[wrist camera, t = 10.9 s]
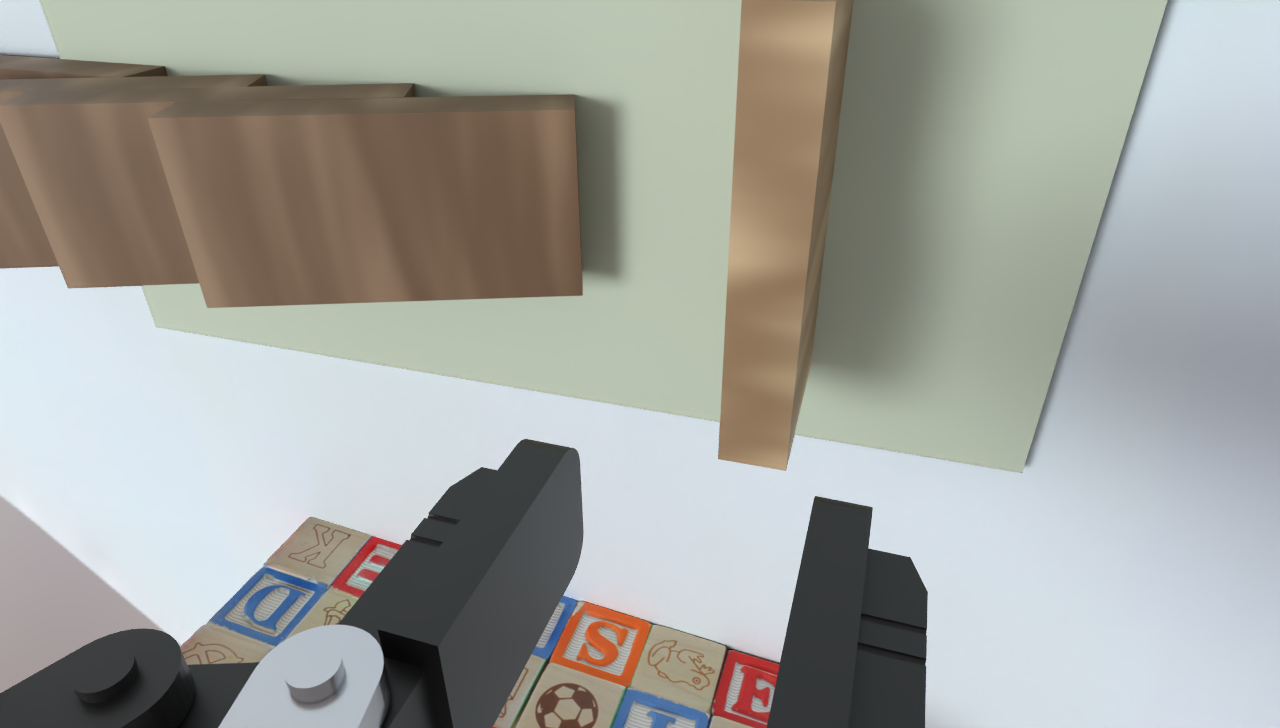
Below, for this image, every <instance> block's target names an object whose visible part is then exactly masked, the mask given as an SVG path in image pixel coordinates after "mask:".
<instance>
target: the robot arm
mask: <svg viewBox="0 0 1280 728" xmlns="http://www.w3.org/2000/svg"><path fill="white" fill-rule="evenodd" d="M871 519H872V507H868V506H863V505H858V504H853V503H848V502H843V501H838V500H832V499H827V498H822V497H817V496H815V498H814V502H813V507H812V512H811V517H810V521H809V526H808V531H807V536H806V541H805V546H804V550H803V555H802V560H801V565H800V570H799V574H798V579H797V584H796V589H795V594H794V598H793V603H792V608H791V613H790V618H789V622H788V627H787V632H786V637H785V642H784V646H783V651H782V656H781V661H780V666H779V670H778V675H777V680H776V685H775V690H774V694H773V699H772V704H771V709H770V714H769V718H768V723H767V728H925V692H926V666H925V662H926V643H927V636H926V630H927V595H928V592H927V590H926V588H925V586H924V584H923V582H922V580H921V578H920V576H919V574H918V572H917V570H916V568H915V566H914V564H913V562H912V560H911V558H910V557H906V556H901V555H896V554H891V553H887V552H882V551H877V550H872V549H868V546H869V537H870V528H871ZM582 543H583V515H582V495H581V475H580V459H579V454H578V452H577V450H576V449H574V448H570V447H564V446H559V445H554V444H549V443H544V442H539V441H534V440H529V439H524V440H522V441H520V442H519V443H518V444H517V446H516V447H515V448H514V449H513V451H512V452H511V453H510V455H509V456H508V457H507V459H506V460H505V461H504V463H503V464H502V465H501V467H500V468H499V469H498V471H497V470H492V469H488V468H483V467H481V468H480V469H478V470H476V471H475V472H473V473H472V474H470V475H468V476H467V477H465V478H464V479H462V480H460V481H459V482H457V483H456V484H454V485H452V486H451V487H450V488H449V489H448V490H447V491H446V492H445V494H444V495H443V496H442V497H441V499H440V500H439V501H438V502H437V503H436V505H435V506H434V507H433V508H432V510H431V511H430V512H429V516H428V518H427V519H426V518H424V519H423V521H422V522H421V523H420V524H419V526H418V527H417V528H416V529H415V530H414V532H413V533H412V534H411V539H410V540H406V541H405V543H404V544H403V545H402V546H401V548H400V549H399V550H398V551H397V552H396V554H395V555H394V556H393V557H392V559H391V560H390V561H389V562H388V564H387V565H386V566H385V567H384V568H383V570H382V571H381V572H380V573H379V575H378V576H377V577H376V578H375V579H374V581H373V582H372V583H371V584H370V586H369V587H368V588H367V589H366V590H365V592H364V593H363V594H362V595H361V597H360V598H359V599H358V600H357V601H356V603H355V604H354V605H353V606H352V608H351V609H350V610H349V611H348V613H347V614H346V615H345V616H344V617H343V619H342V620H341V621H340V622H339V623H338V624H337V625H326V626H320V627H315V628H311V629H308V630H306V631H303V632H300V633H298V634H296V635H294V636H292V637H290V638H288V639H287V640H285V641H283V642H282V643H280V644H279V645H277V646H276V647H275V648H274V649H273V650H271V651H270V652H269V653H268V654H267V655H266V656H265V657H264V658H263V659H262V660H261V661H260V662H253V663H224V664H193V665H187V663H186V660H185V658H184V656H183V653H182V651H181V649H180V646H179V645H178V643H177V642H176V640H175V639H174V638H173V637H171V636H170V635H169V634H166V633H164V632H162V631H158V630H154V629H131V630H127V631H121V632H117V633H114V634H110V635H107V636H105V637H102V638H100V639H97V640H95V641H93V642H91V643H89V644H87V645H85V646H83V647H81V648H80V649H78V650H76V651H74V652H73V653H71V654H69V655H67V656H65V657H64V658H62V659H60V660H58V661H57V662H55V663H53V664H51V665H50V666H48V667H46V668H44V669H43V670H41V671H39V672H37V673H35V674H34V675H32V676H30V677H28V678H27V679H25V680H23V681H21V682H20V683H18V684H16V685H15V686H12V687H11V688H9V689H8V690H5V691H4V692H2V693H0V728H492V727H493V726H494V724H495V722H496V720H497V718H498V716H499V714H500V712H501V711H502V709H503V707H504V705H505V703H506V701H507V699H508V697H509V696H510V694H511V692H512V690H513V688H514V686H515V684H516V682H517V681H518V679H519V677H520V675H521V673H522V671H523V669H524V667H525V665H526V664H527V662H528V660H529V658H530V656H531V654H532V652H533V650H534V649H535V647H536V645H537V643H538V641H539V639H540V637H541V635H542V634H543V632H544V630H545V628H546V626H547V624H548V622H549V620H550V619H551V617H552V615H553V613H554V611H555V609H556V607H557V605H558V604H559V602H560V600H561V598H562V596H563V594H564V592H565V590H566V589H567V587H568V585H569V583H570V581H571V579H572V577H573V575H574V573H575V570H576V568H577V565H578V562H579V558H580V554H581V549H582Z"/></svg>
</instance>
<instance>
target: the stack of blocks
mask: <svg viewBox="0 0 1280 728" xmlns="http://www.w3.org/2000/svg"><path fill="white" fill-rule="evenodd" d="M401 546H402V545H399V544H396V543H393V542H390V541H386V540H383V539H380V538H377V537H374V536H370V535H368V534H365V533H362V532H359V531H356V530H353V529H349V528H346V527H343V526H340V525H337V524H333V523H330V522H327V521H324V520H320V519H317V518H314V517H309V518H308V519H307V520H306V521H305V522H304V523H303V524H302V525H301V526H300V527H299V528H298V529H297V530H296V531H295V532H294V533H293V534H292V535H291V537H290V538H289V539H288V540H287V541H286V542H285V543H284V544H282V545H281V547H280V548H279V549H278V550H277V551H276V552H275V553H274V554H273V555H272V556H271V557H270V558H269V559H268V560H267V562H266V563H264V565H263V568H261V569H260V570H259V571H258V572H257V573H256V574H255V575H254V576H253V577H252V578H251V579H250V580H249V581H248V582H247V583H246V584H245V585H244V586H243V587H242V588H241V589H240V590H239V591H238V592H237V593H236V594H235V595H234V596H233V597H232V598H231V599H230V600H229V601H228V602H227V603H226V604H225V605H224V606H223V607H222V608H221V609H220V610H219V611H218V612H217V613H216V614H215V615H214V616H213V617H212V618H211V619H210V620H209V621H208V623H207V624H205V625H203V626H201V627H200V628H199V629H198V630H197V631H196V632H195V633H194V634H193V635H192V636H191V638H190V639H188V640H187V641H186V642H185V643H184V644H183V645H182V646H181V647H180V649H181V651H182V653H183V656H184V658H185V660H186V663H187V665H193V664H224V663H253V662H260V661H261V660H262V659H263V658H264V657H265V656H266V655H267V654H268V653H269V652H270V651H271V650H273V649H274V648H275V647H276V646H277V645H279V644H280V643H282V642H283V641H285V640H287V639H288V638H290V637H292V636H294V635H296V634H298V633H300V632H303V631H306V630H308V629H311V628H315V627H320V626H326V625H337V624H338V623H339V622H340V621H341V620H342V619H343V617H344V616H345V615H346V614H347V613H348V611H349V610H350V609H351V608H352V606H353V605H354V604H355V603H356V601H357V600H358V599H359V598H360V597H361V595H362V594H363V593H364V592H365V590H366V589H367V588H368V587H369V586H370V584H371V583H372V582H373V581H374V579H375V578H376V577H377V576H378V575H379V573H380V572H381V571H382V570H383V568H384V567H385V566H386V565H387V564H388V562H389V561H390V560H391V559H392V557H393V556H394V555H395V554H396V552H397V551H398V550H399V549H400V548H401ZM779 666H780V664H777V663H774V662H770V661H767V660H764V659H760V658H757V657H754V656H751V655H747V654H744V653H740V652H737V651H735V650H727V648H726V647H725V646H724V645H721V644H718V643H715V642H712V641H709V640H706V639H703V638H699V637H696V636H693V635H690V634H687V633H684V632H681V631H677V630H674V629H671V628H667V627H663V626H659V625H652V624H650V623H649V622H647V621H644V620H641V619H639V618H636V617H632V616H629V615H626V614H623V613H619V612H616V611H613V610H610V609H607V608H604V607H601V606H598V605H594V604H591V603H588V602H585V601H579V602H577V601H576V600H574V599H571V598H568V597H565V596H562V598H561V600H560V602H559V604H558V605H557V607H556V609H555V611H554V613H553V615H552V617H551V619H550V620H549V622H548V624H547V626H546V628H545V630H544V632H543V634H542V635H541V637H540V639H539V641H538V643H537V645H536V647H535V649H534V650H533V652H532V654H531V656H530V658H529V660H528V662H527V664H526V665H525V667H524V669H523V671H522V673H521V675H520V677H519V679H518V681H517V682H516V684H515V686H514V688H513V690H512V692H511V694H510V696H509V697H508V699H507V701H506V703H505V705H504V707H503V709H502V711H501V712H500V714H499V716H498V718H497V720H496V722H495V724H494V726H493V727H492V728H767V723H768V718H769V714H770V709H771V704H772V699H773V694H774V690H775V685H776V680H777V675H778V670H779Z"/></svg>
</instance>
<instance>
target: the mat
mask: <svg viewBox="0 0 1280 728" xmlns="http://www.w3.org/2000/svg"><path fill="white" fill-rule="evenodd" d="M1167 1H1168V0H854V1H853V9H852V18H851V26H850V35H849V43H848V52H847V61H846V69H845V78H844V86H843V95H842V103H841V112H840V120H839V129H838V138H837V146H836V155H835V163H834V172H833V180H832V189H831V198H830V206H829V215H828V223H827V232H826V240H825V249H824V257H823V266H822V275H821V283H820V292H819V300H818V309H817V317H816V326H815V335H814V343H813V352H812V360H811V366H810V370H809V375H808V379H807V383H806V387H805V392H804V396H803V400H802V404H801V409H800V413H799V417H798V421H797V426H796V430H795V434H794V435H799V436H805V437H811V438H817V439H823V440H829V441H835V442H841V443H847V444H853V445H859V446H865V447H871V448H876V449H882V450H888V451H894V452H900V453H906V454H912V455H918V456H924V457H930V458H936V459H942V460H948V461H954V462H960V463H965V464H971V465H977V466H983V467H989V468H995V469H1001V470H1007V471H1013V472H1019V473H1022V472H1023V469H1024V466H1025V462H1026V459H1027V456H1028V453H1029V449H1030V446H1031V443H1032V440H1033V436H1034V433H1035V430H1036V427H1037V423H1038V420H1039V417H1040V414H1041V410H1042V407H1043V404H1044V401H1045V397H1046V394H1047V391H1048V388H1049V384H1050V381H1051V378H1052V375H1053V371H1054V368H1055V365H1056V362H1057V358H1058V355H1059V352H1060V349H1061V345H1062V342H1063V339H1064V336H1065V332H1066V329H1067V326H1068V323H1069V319H1070V316H1071V313H1072V310H1073V307H1074V303H1075V300H1076V297H1077V294H1078V290H1079V287H1080V284H1081V281H1082V277H1083V274H1084V271H1085V268H1086V264H1087V261H1088V258H1089V255H1090V251H1091V248H1092V245H1093V242H1094V238H1095V235H1096V232H1097V229H1098V225H1099V222H1100V219H1101V216H1102V212H1103V209H1104V206H1105V203H1106V199H1107V196H1108V193H1109V190H1110V186H1111V183H1112V180H1113V177H1114V173H1115V170H1116V167H1117V164H1118V160H1119V157H1120V154H1121V151H1122V147H1123V144H1124V141H1125V138H1126V134H1127V131H1128V128H1129V125H1130V121H1131V118H1132V115H1133V112H1134V108H1135V105H1136V102H1137V99H1138V95H1139V92H1140V89H1141V86H1142V82H1143V79H1144V76H1145V73H1146V69H1147V66H1148V63H1149V60H1150V56H1151V53H1152V50H1153V47H1154V43H1155V40H1156V37H1157V34H1158V30H1159V27H1160V24H1161V21H1162V17H1163V14H1164V11H1165V8H1166V4H1167ZM40 3H41V6H42V9H43V12H44V14H45V17H46V20H47V23H48V26H49V28H50V31H51V34H52V37H53V40H54V42H55V45H56V48H57V51H58V54H59V56H60V59H68V60H83V61H98V62H112V63H127V64H142V65H156V66H165V68H166V72H167V75H168V76H202V75H251V74H265V76H266V81H267V85H268V86H301V85H349V84H397V83H414V88H415V95H416V97H460V96H514V95H567V94H575V112H576V136H577V159H578V182H579V206H580V229H581V252H582V279H583V296H556V297H526V298H496V299H466V300H436V301H406V302H376V303H346V304H316V305H286V306H256V307H226V308H207V306H206V303H205V300H204V296H203V293H202V290H201V287H200V284H199V283H198V284H171V285H144V286H142V289H143V292H144V295H145V297H146V300H147V303H148V306H149V309H150V311H151V314H152V317H153V320H154V323H155V325H156V327H159V328H165V329H170V330H176V331H182V332H188V333H194V334H200V335H206V336H212V337H218V338H224V339H230V340H236V341H242V342H248V343H254V344H259V345H265V346H271V347H277V348H283V349H289V350H295V351H301V352H307V353H313V354H319V355H325V356H331V357H337V358H343V359H348V360H354V361H360V362H366V363H372V364H378V365H384V366H390V367H396V368H402V369H408V370H414V371H420V372H426V373H431V374H437V375H443V376H449V377H455V378H461V379H467V380H473V381H479V382H485V383H491V384H497V385H503V386H509V387H515V388H520V389H526V390H532V391H538V392H544V393H550V394H556V395H562V396H568V397H574V398H580V399H586V400H592V401H598V402H604V403H609V404H615V405H621V406H627V407H633V408H639V409H645V410H651V411H657V412H663V413H669V414H675V415H681V416H687V417H693V418H698V419H704V420H710V421H716V422H720V414H721V394H722V374H723V355H724V335H725V316H726V296H727V277H728V257H729V237H730V218H731V198H732V179H733V159H734V140H735V120H736V100H737V81H738V61H739V42H740V22H741V3H742V0H40Z"/></svg>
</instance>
